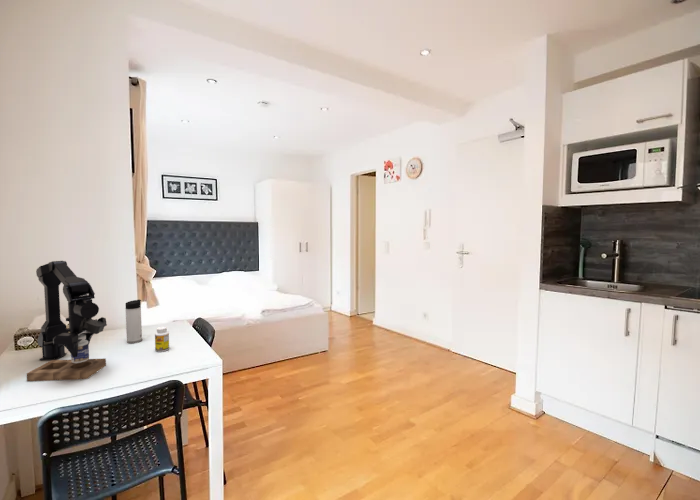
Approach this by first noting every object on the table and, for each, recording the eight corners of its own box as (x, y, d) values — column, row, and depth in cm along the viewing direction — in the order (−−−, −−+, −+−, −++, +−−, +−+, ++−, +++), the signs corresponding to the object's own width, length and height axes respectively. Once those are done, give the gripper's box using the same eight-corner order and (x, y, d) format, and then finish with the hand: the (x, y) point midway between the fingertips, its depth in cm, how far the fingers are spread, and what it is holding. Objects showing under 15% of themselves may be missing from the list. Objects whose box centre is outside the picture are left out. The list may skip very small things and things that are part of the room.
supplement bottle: (152, 351, 154) (151, 328, 154) (163, 347, 159) (162, 325, 159) (161, 353, 152) (160, 330, 151) (172, 348, 157) (171, 327, 157)
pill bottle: (74, 364, 128) (73, 339, 127) (68, 361, 131) (67, 336, 130) (91, 360, 132) (90, 335, 132) (85, 356, 135) (84, 332, 134)
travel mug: (145, 340, 168) (143, 300, 166) (130, 344, 162) (129, 302, 161) (138, 338, 171) (137, 298, 170) (124, 342, 166) (122, 301, 164)
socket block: (27, 381, 124) (26, 373, 124) (52, 367, 136) (51, 360, 136) (86, 379, 126) (86, 371, 126) (106, 365, 138) (105, 358, 138)
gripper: (85, 320, 122) (87, 363, 123) (115, 307, 140) (116, 344, 141) (50, 321, 120) (53, 364, 122) (85, 307, 139) (87, 345, 140)
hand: (80, 354), depth 131 cm, fingers closed on pill bottle, 5 cm apart
